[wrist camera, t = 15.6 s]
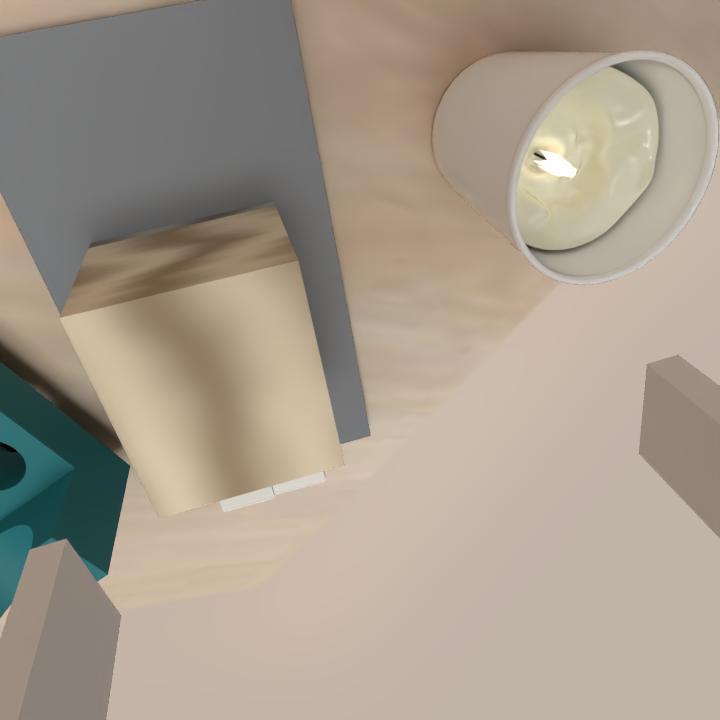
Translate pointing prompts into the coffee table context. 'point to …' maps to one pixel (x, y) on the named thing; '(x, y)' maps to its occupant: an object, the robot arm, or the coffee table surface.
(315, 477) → the cream flat square
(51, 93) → the board
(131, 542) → the coffee table surface
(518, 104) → the candle holder
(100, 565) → the teal l-shaped bracket
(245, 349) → the block
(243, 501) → the white square tile
